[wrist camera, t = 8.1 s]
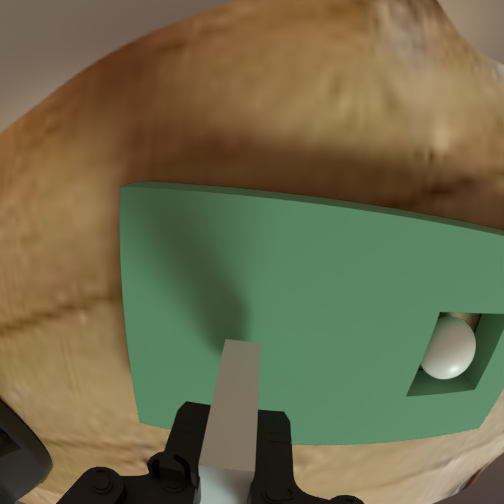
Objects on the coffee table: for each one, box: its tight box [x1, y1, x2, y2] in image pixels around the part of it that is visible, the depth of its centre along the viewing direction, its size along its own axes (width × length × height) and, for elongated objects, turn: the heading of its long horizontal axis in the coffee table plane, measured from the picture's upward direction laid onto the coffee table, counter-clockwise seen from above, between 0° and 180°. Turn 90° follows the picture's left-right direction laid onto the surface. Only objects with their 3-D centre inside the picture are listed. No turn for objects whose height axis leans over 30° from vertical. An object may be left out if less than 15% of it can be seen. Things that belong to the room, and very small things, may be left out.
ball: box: [421, 316, 476, 379], centre depth 15 cm, size 4×4×4 cm
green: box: [120, 181, 504, 445], centre depth 15 cm, size 24×14×2 cm, turn 85°
